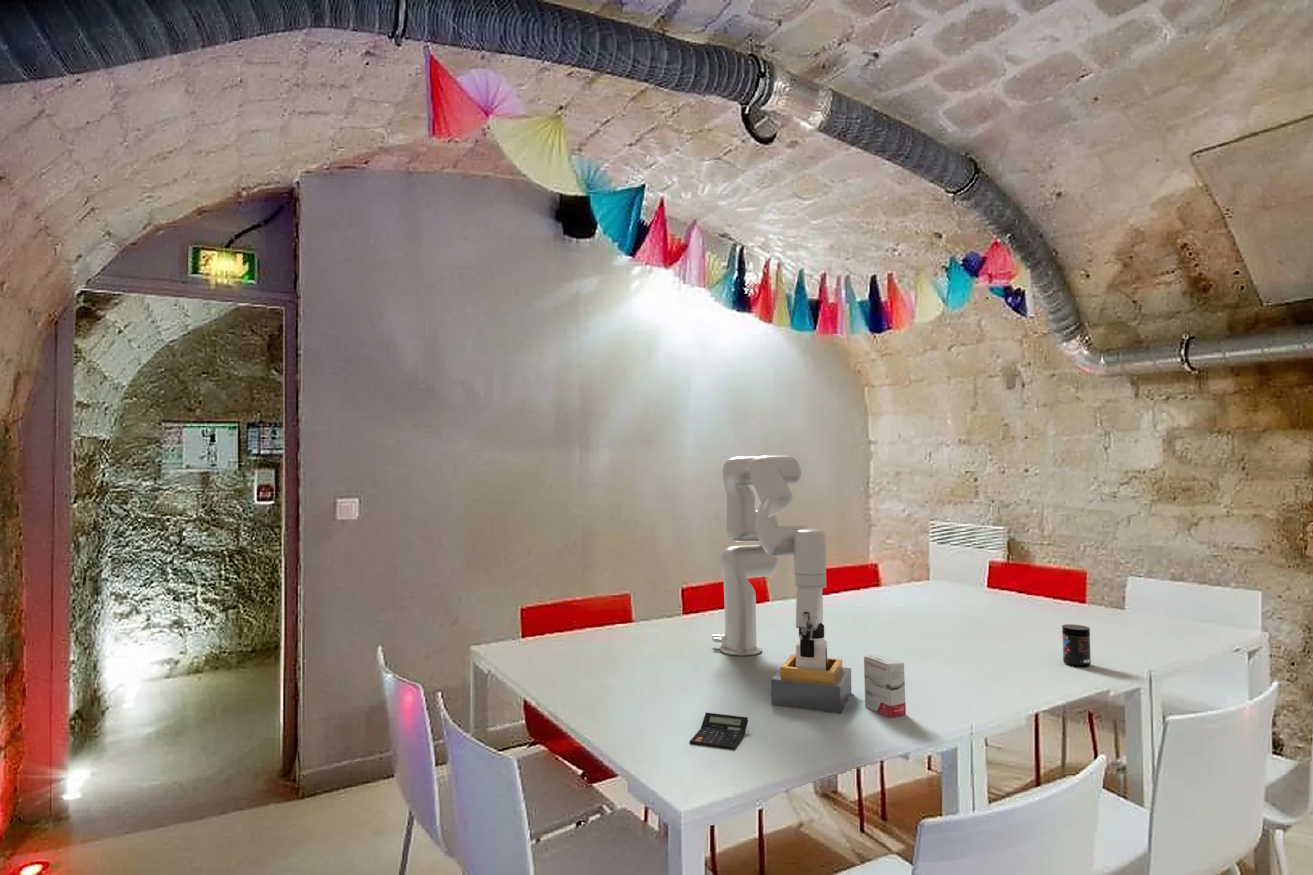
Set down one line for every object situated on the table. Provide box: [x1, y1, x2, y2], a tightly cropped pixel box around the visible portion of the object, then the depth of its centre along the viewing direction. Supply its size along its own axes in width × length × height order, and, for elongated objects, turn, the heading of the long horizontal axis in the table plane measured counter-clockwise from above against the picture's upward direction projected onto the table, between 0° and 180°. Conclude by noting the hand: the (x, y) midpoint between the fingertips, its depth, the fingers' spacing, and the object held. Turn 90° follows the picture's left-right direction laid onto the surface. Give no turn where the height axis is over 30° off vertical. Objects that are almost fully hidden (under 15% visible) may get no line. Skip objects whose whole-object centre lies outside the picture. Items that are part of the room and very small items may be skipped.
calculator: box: [689, 712, 749, 751], centre depth 149 cm, size 9×12×3 cm
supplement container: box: [1061, 623, 1092, 668], centre depth 199 cm, size 7×7×10 cm
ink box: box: [863, 654, 907, 718], centre depth 164 cm, size 9×5×12 cm, turn 25°
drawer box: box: [770, 653, 852, 715], centre depth 174 cm, size 16×18×8 cm
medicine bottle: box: [795, 622, 828, 671], centre depth 173 cm, size 7×7×12 cm
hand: (811, 651), depth 173 cm, fingers open, 9 cm apart
